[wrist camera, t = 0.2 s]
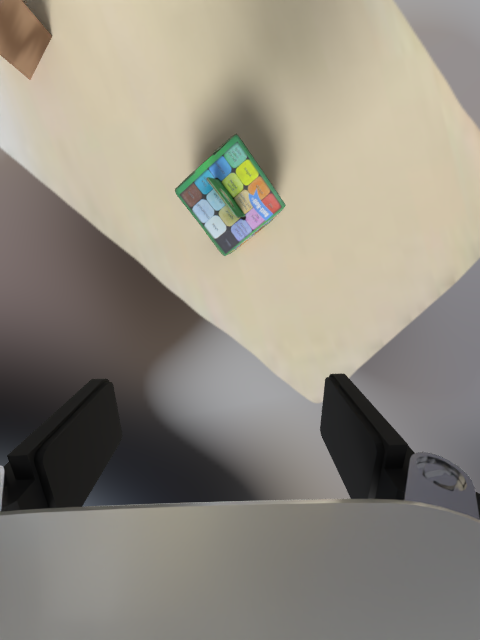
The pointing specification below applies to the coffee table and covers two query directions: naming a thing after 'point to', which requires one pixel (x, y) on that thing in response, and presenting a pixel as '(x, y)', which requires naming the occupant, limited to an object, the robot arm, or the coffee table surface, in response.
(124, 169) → the coffee table surface
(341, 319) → the coffee table surface
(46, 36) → the walnut block
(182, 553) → the robot arm
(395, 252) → the coffee table surface
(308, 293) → the coffee table surface
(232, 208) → the chalk box
